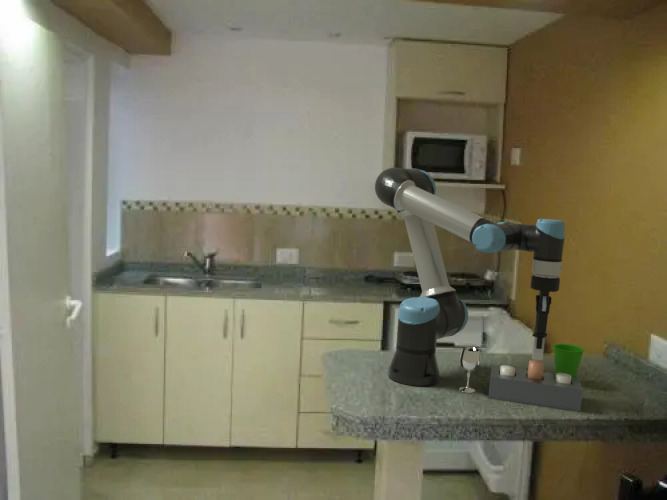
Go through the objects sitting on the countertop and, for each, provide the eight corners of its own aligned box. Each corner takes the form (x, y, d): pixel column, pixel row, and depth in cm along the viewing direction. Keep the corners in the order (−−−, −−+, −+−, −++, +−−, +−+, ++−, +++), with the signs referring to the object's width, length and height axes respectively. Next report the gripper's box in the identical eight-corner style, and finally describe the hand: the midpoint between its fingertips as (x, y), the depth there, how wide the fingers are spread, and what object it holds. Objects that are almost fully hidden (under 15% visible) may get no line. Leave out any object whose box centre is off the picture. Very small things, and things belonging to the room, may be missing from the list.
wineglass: (465, 394, 181) (469, 352, 180) (452, 387, 186) (456, 347, 185) (481, 392, 184) (485, 351, 182) (468, 385, 189) (472, 345, 187)
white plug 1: (498, 392, 183) (500, 368, 182) (498, 388, 187) (500, 364, 186) (512, 394, 182) (515, 370, 181) (512, 390, 186) (515, 366, 185)
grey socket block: (488, 397, 180) (490, 376, 179) (489, 384, 191) (491, 364, 190) (580, 411, 174) (582, 389, 173) (575, 397, 185) (578, 376, 184)
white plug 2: (553, 400, 179) (556, 376, 178) (553, 396, 183) (555, 372, 182) (569, 402, 178) (572, 378, 177) (567, 398, 182) (570, 374, 181)
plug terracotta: (526, 387, 181) (529, 363, 180) (526, 383, 184) (528, 359, 184) (541, 389, 180) (544, 365, 179) (541, 385, 183) (543, 361, 183)
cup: (582, 389, 193) (587, 353, 191) (551, 385, 195) (555, 349, 193) (577, 379, 202) (581, 345, 200) (547, 376, 203) (551, 342, 202)
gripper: (562, 280, 171) (552, 367, 174) (558, 273, 183) (550, 354, 186) (532, 277, 173) (523, 363, 176) (530, 271, 185) (522, 351, 188)
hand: (537, 359), depth 181 cm, fingers closed
